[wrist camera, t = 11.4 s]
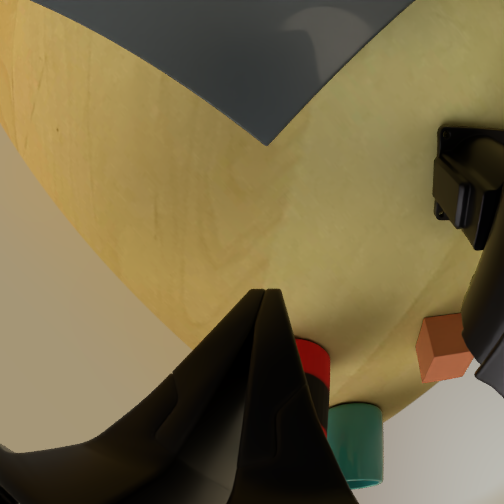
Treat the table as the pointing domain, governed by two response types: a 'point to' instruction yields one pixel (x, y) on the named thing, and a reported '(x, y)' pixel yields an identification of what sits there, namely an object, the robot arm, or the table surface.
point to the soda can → (316, 377)
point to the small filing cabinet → (241, 47)
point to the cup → (357, 443)
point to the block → (442, 348)
